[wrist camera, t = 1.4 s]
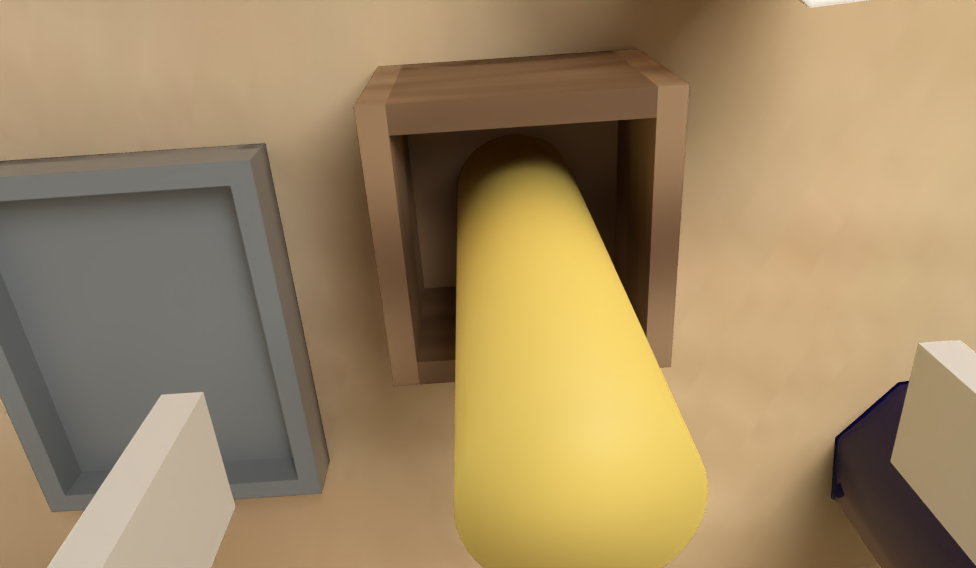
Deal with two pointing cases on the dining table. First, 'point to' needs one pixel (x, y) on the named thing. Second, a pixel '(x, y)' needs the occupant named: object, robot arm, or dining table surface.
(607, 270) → the dowel
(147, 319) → the tray
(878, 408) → the bottle
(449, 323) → the holder
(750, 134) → the dining table surface
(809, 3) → the cup
